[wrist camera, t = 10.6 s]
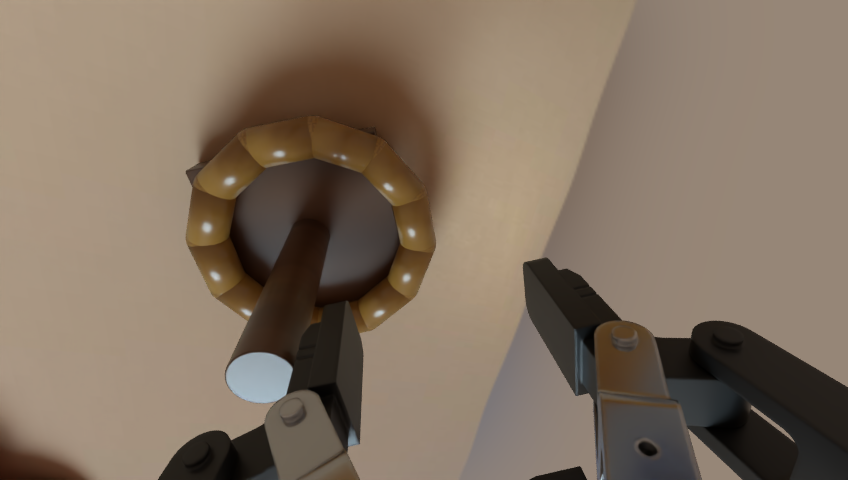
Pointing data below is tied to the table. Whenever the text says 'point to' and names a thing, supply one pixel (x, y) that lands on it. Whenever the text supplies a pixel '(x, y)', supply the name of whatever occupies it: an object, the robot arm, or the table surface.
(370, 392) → the table surface
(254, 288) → the ring
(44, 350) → the table surface
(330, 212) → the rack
